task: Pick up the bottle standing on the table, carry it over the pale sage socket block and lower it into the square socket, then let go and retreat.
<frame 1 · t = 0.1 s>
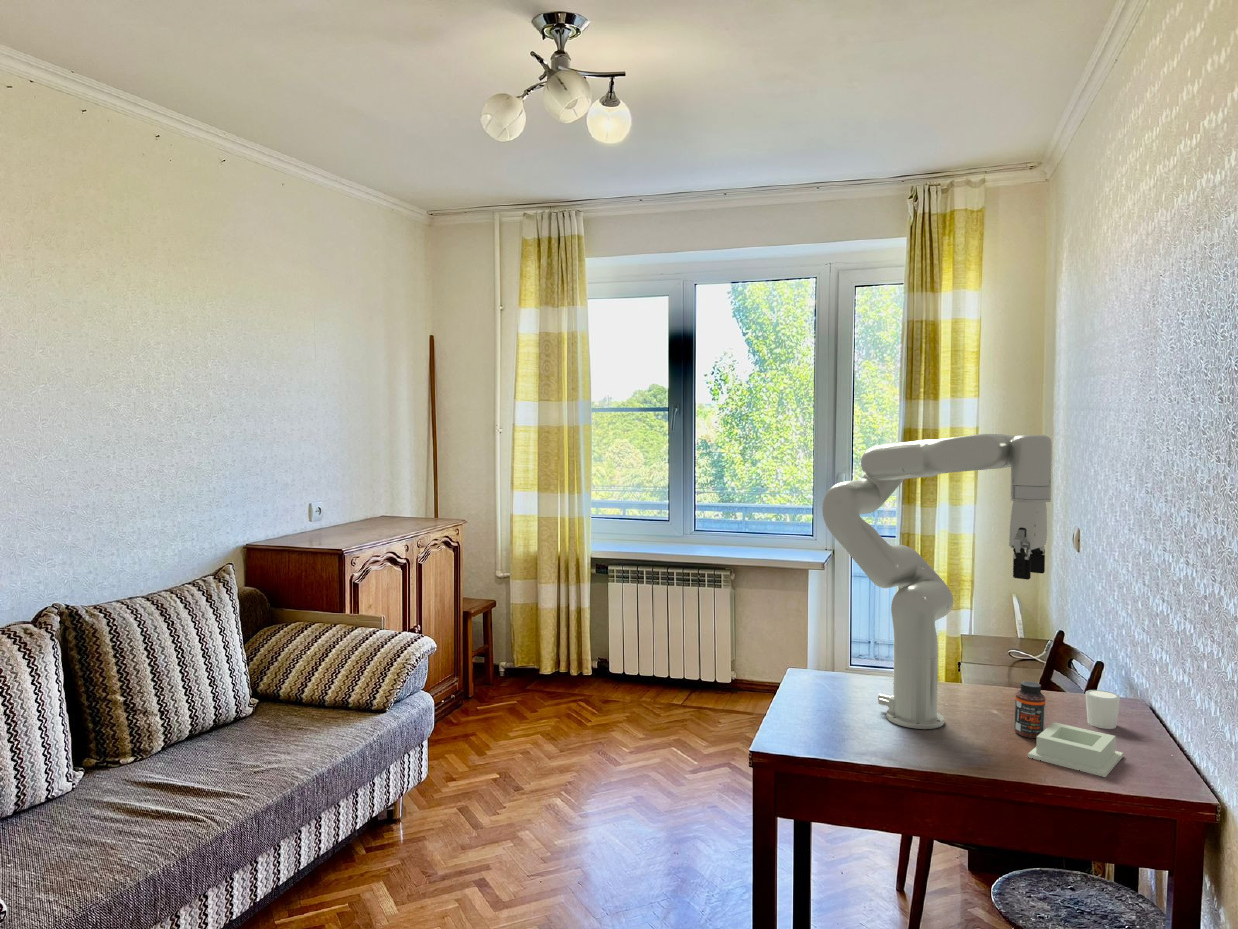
hand: (1029, 575, 171), 37 cm above the table, tool pointing down, fingers open, 9 cm apart
supplement bottle: (1029, 735, 180), on the table
socket block: (1075, 757, 168), on the table
white cylinder: (1101, 725, 186), on the table
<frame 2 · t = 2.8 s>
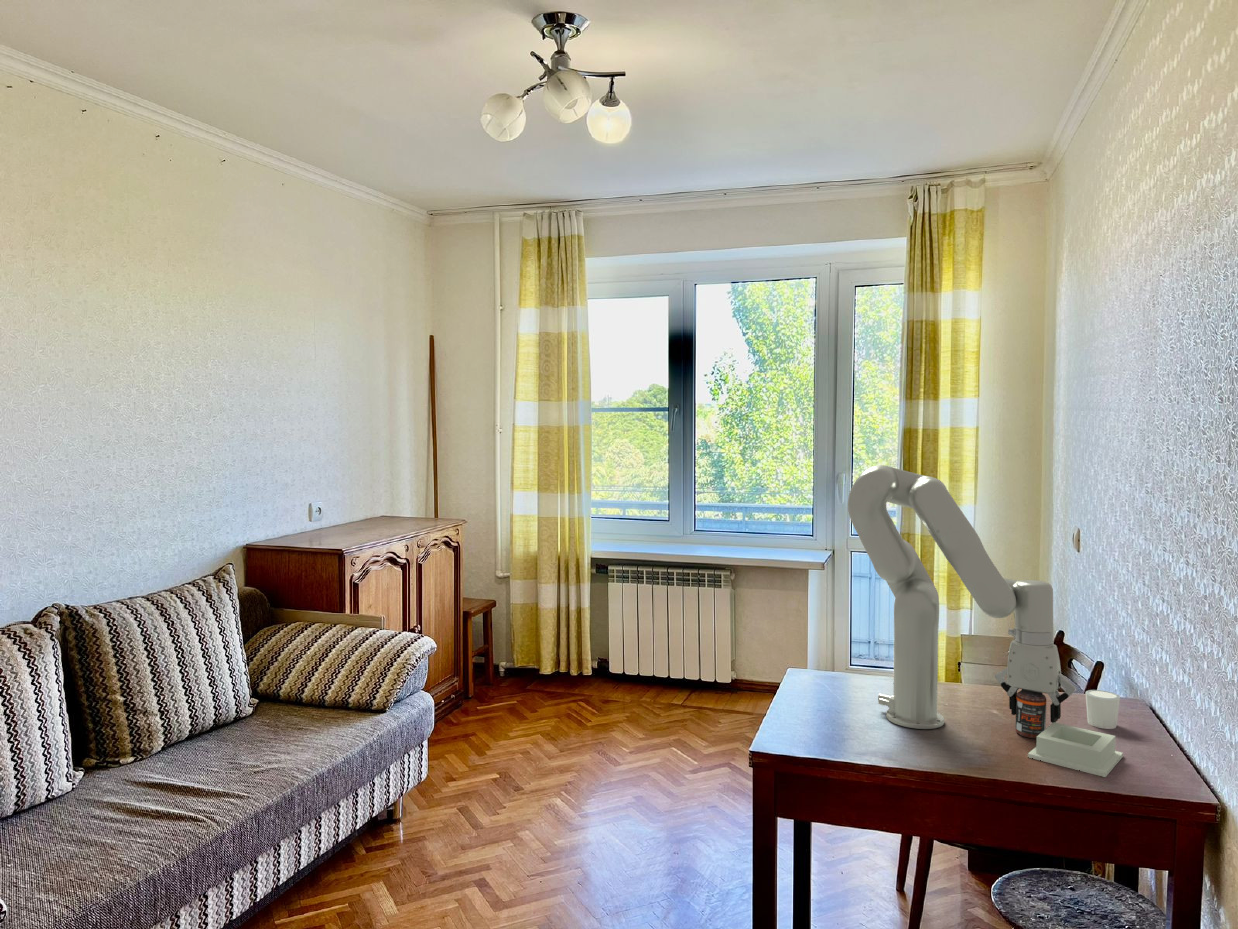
hand: (1034, 716, 180), 4 cm above the table, tool pointing down, fingers open, 7 cm apart
supplement bottle: (1030, 735, 180), on the table, touching gripper
everything else where it was.
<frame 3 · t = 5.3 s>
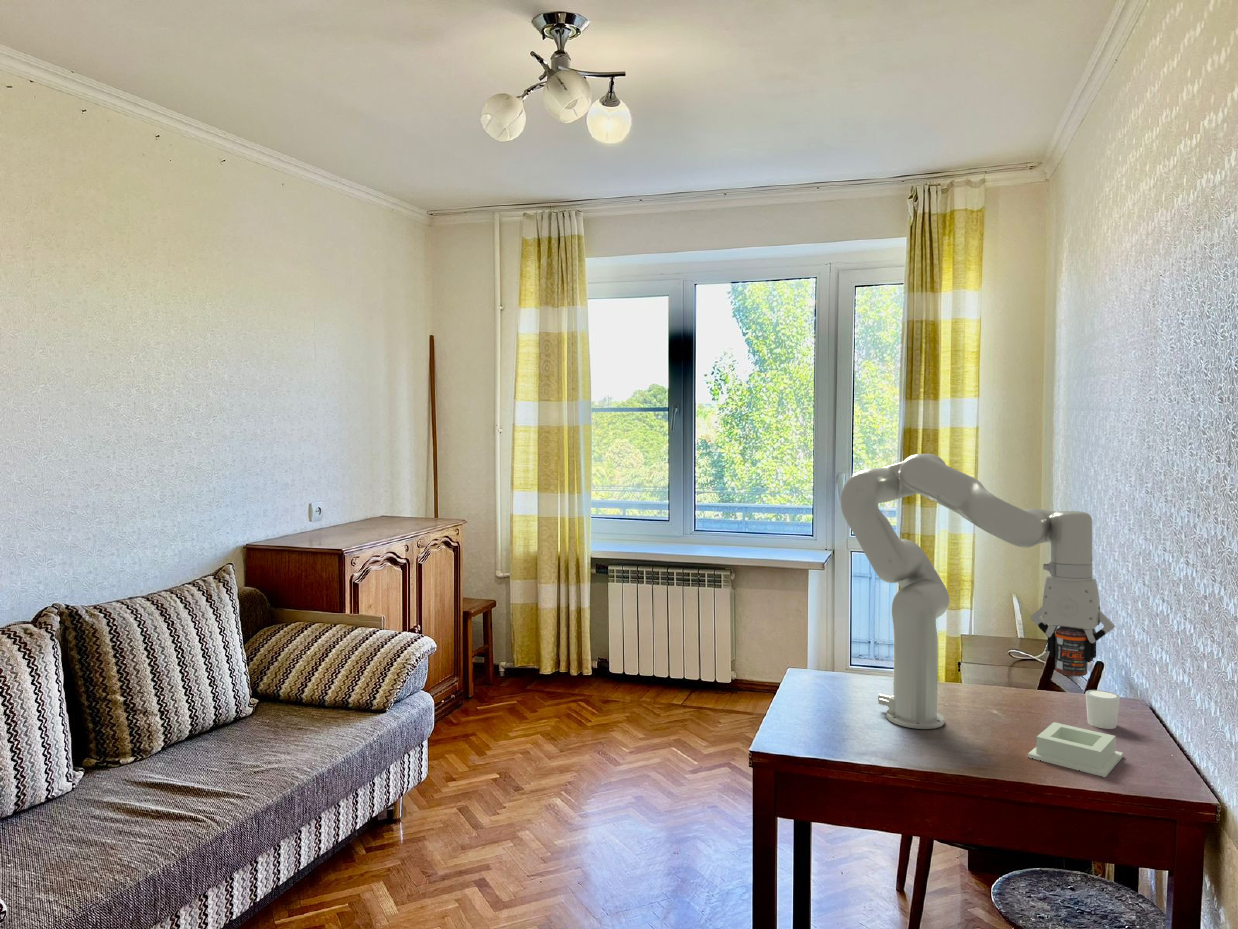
hand: (1071, 657, 169), 20 cm above the table, tool pointing down, fingers closed on supplement bottle, 6 cm apart
supplement bottle: (1071, 674, 169), point 17 cm above the table, touching gripper
everything else where it was.
when the fingers open (5 cm above the table, at t = 7.7 s): supplement bottle stays where it is, resting on socket block.
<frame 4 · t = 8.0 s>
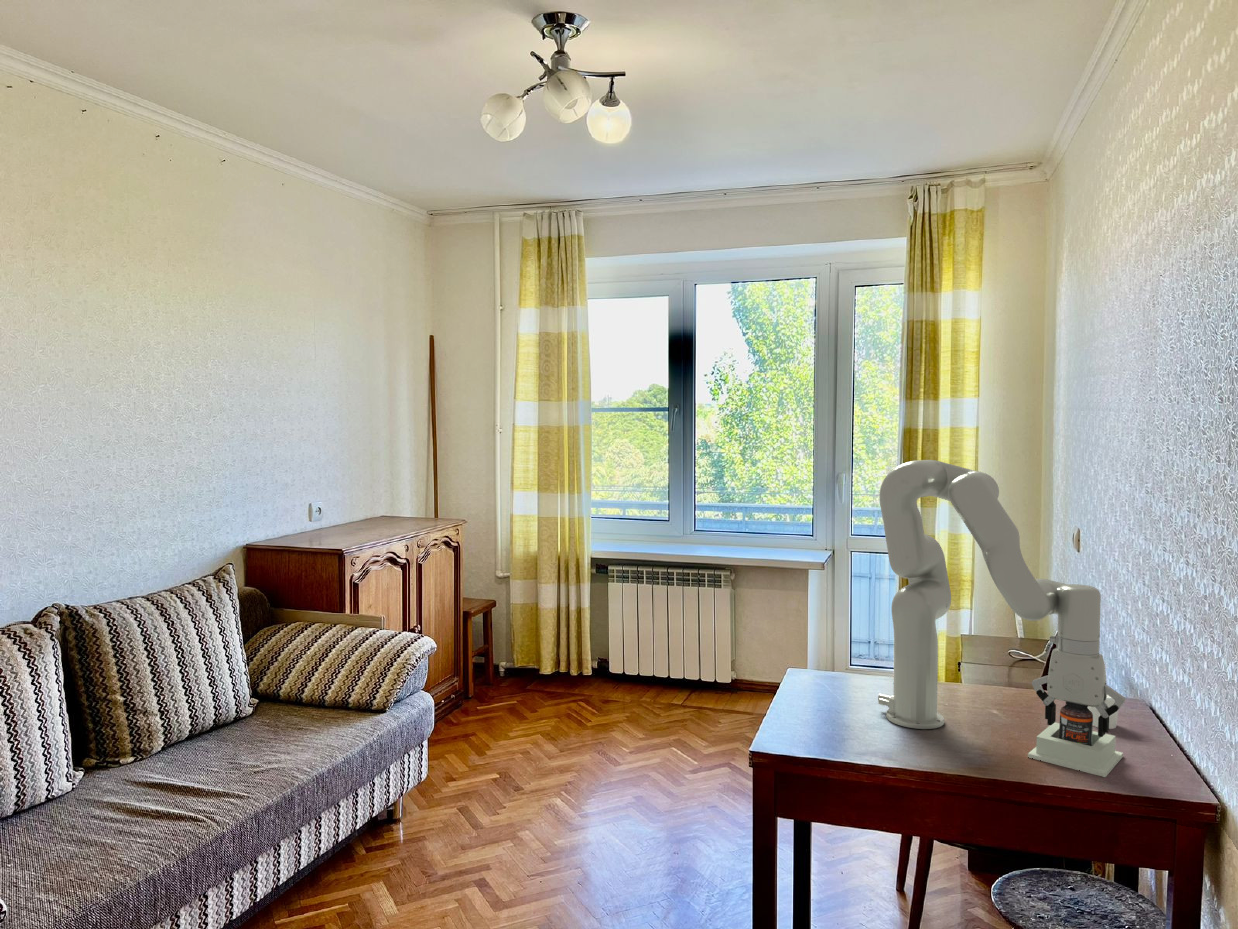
hand: (1076, 729, 167), 6 cm above the table, tool pointing down, fingers open, 9 cm apart
supplement bottle: (1075, 754, 168), point 1 cm above the table, touching socket block
everything else where it was.
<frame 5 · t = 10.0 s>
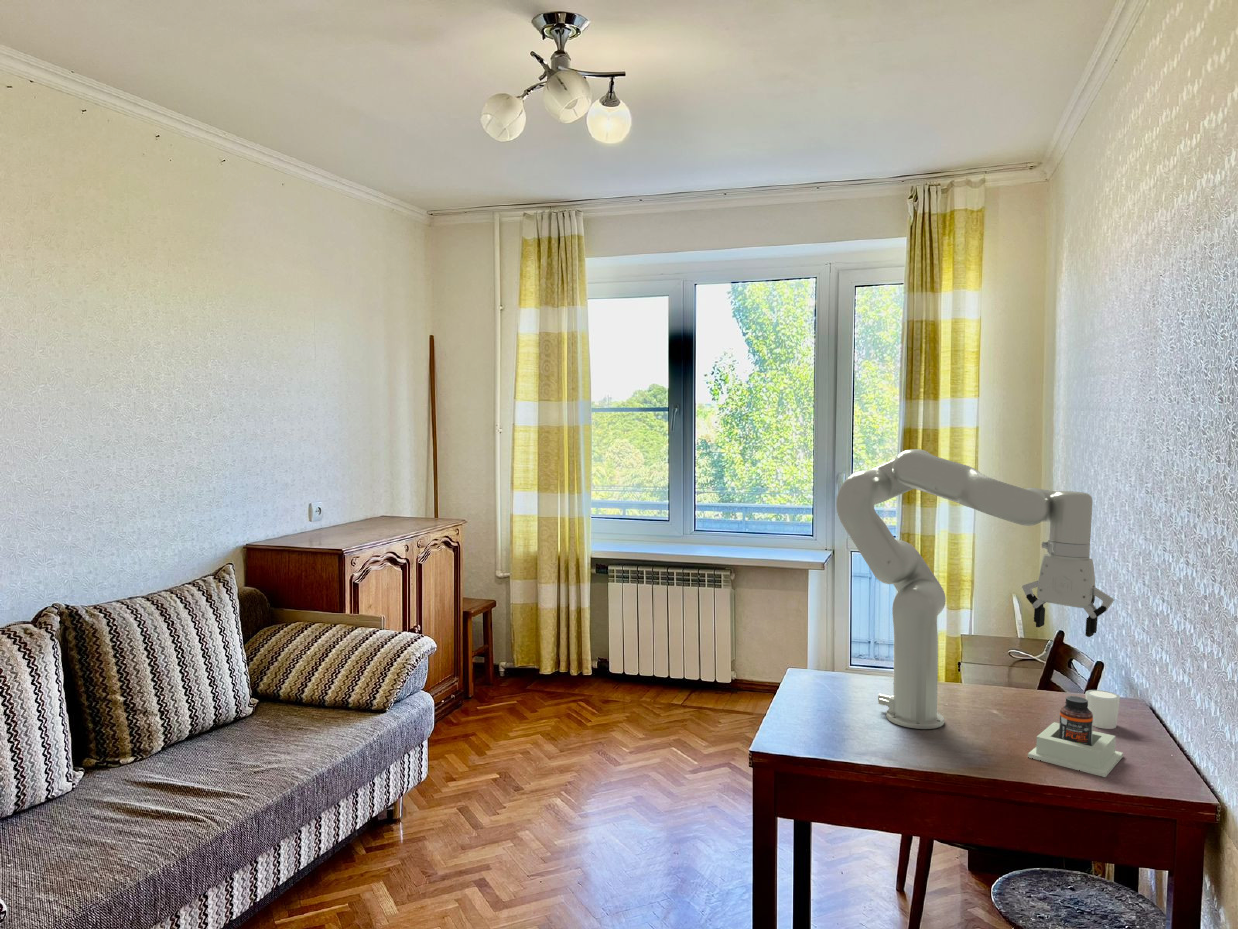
hand: (1064, 631, 172), 25 cm above the table, tool pointing down, fingers open, 9 cm apart
nothing on the table moved.
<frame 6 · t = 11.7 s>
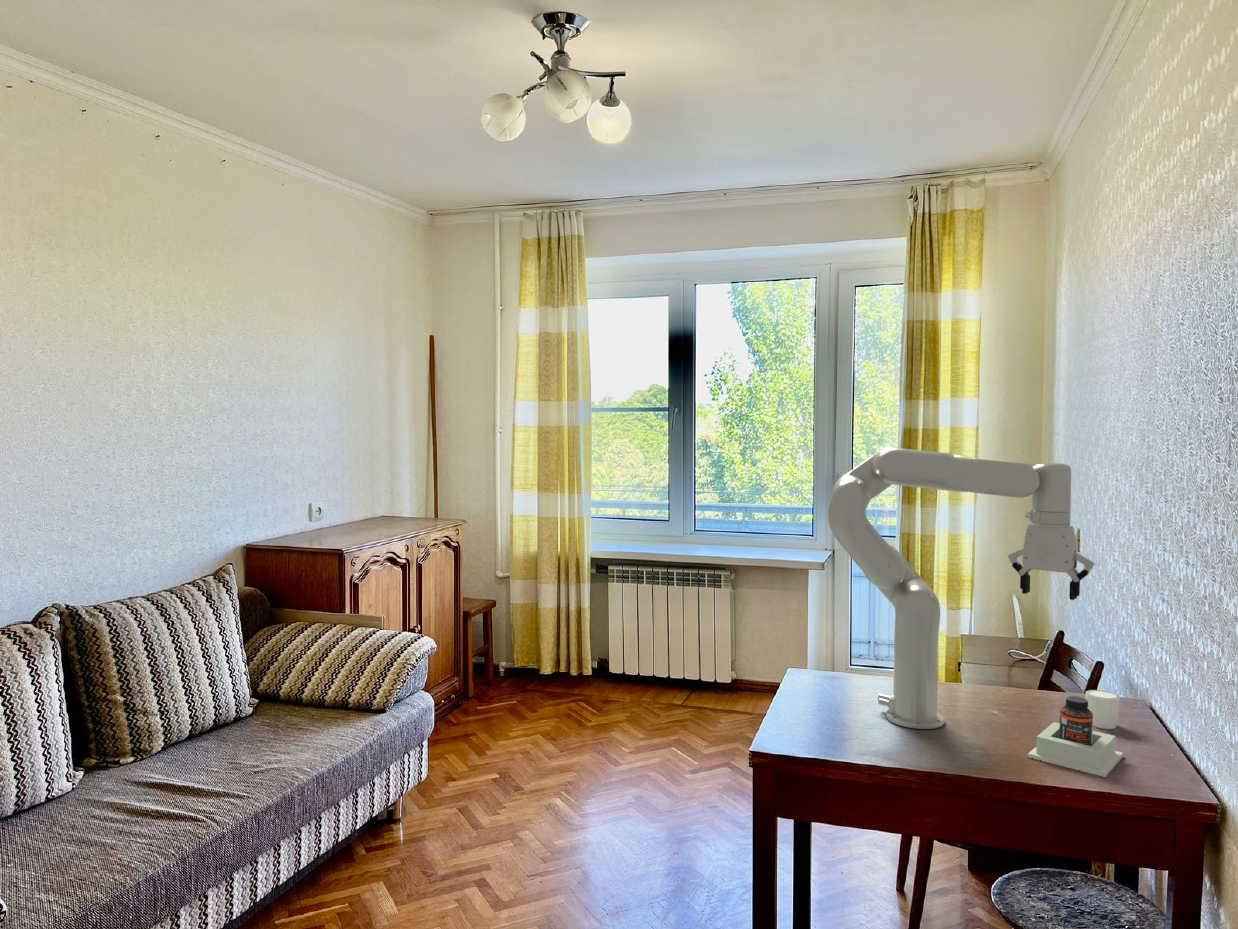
hand: (1049, 595, 181), 30 cm above the table, tool pointing down, fingers open, 9 cm apart
nothing on the table moved.
at the end: supplement bottle 0.1 cm off-centre on the socket block, point 0.6 cm above the socket block's base; supplement bottle tilted 0°; the gripper is holding nothing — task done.
